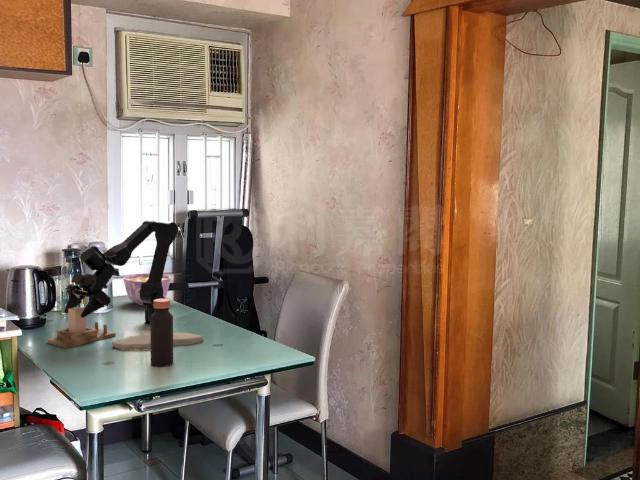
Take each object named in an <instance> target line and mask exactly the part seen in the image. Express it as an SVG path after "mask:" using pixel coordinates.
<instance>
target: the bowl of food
mask: <svg viewBox="0 0 640 480" xmlns="http://www.w3.org/2000/svg"><path fill="white" fill-rule="evenodd" d="M149 274H150V273H136V274H130V275H126V276H124V277H123V283H124V286H125V292H126V295H127V297H128V298H129V300H130V301H132V302H134V303H136V304H137V305H138V306H143V303H142V301H141V299H140V293H139V291H140V289H141V284H142V283H146V281H147V280H148V278H149ZM171 280H172V276H170V275H168V274H165V273H163V277H162V281H161V283H162V286H163V297H164V298H165V299H166V297H167V295H168V292H169V288H170V287H169V286H170V284H171Z"/></svg>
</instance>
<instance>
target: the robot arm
mask: <svg viewBox="0 0 640 480" xmlns="http://www.w3.org/2000/svg"><path fill="white" fill-rule="evenodd" d="M152 233H154V237H155V241H156V245H155V249H154V253H153V257H152V258H153V259H152V262H151V267H150V271H149V273H148V274H149V278H148V280H147V281H146V283H142V284H141V289H140V291H139V293H140V299H141V301H142V303H143V305H142V306H144V307H145V311H144V324H146V325H150V317H151V315H152V314H153V313H154V312H155V309H154V307H153V300H155V299H166V297H165V298H164V297H163V286H162V283H161V281H162V277H163V274H164V271H165V267H166V264H167V258H168V256H169V255H168V254H169V250H170V246H171V245H172V244H173V242H174V241H175V240H176V238H177V236H178V233H179V226H178V225H177V223H176V222H174V221H166V220H165V221H164V220H160V221H158V222H157V221H155V220H144V221H143V222H142V223H141V225H139V226H138V228H136V229H135V230H134V231H133V232H132V233H131V234H130V235H129V236H128V237H127V238H126V239H125V240H124V241H121V243H118V244H116V245H113V246H111V247H110V248H108V249H107V250H106V251H105V252H103V253H102V252H101V251H100V249H99V248H98V247H97V245H96V246H94V245H92V246H91V247H90V248H87V249H86V250H85V251H83V252H82V253H81V255H80V256H79V257H80V261H81V262H82V263H83V264H85V265H86V267H88V268H89V269H90V270H91V271H94V273H93V274H91V273H86V274H81V273H80V274H79V273H76V272H75V273H73V276H72V278H71V281H70V282H71V283H73V284H68V285H67V286H66V288H65V291H66V293H67V295H68V299H67V303H66V305H65V309H64V312H63V313H65V314H67V315H68V309H69V308H75V307H78V305H79V304H82V300H83V299H84V298H85V297H89V302H88V304H87V305H86V307H85V309H84V310H83V312H82V314H81V317H82V318H83V317H85V316H86V317H87V316H89V315H91V314H92V313H94V312H96V311H98V310H100V309H102V308H105V307H108V306H109V305H110V304H111V300H112V298H111V297H110V296H109V295H108V294H107V293H106V292H105V291H104V290H106V289H108V287H109V286H108V285H107V284H108V283H109V282H110V280H111V279H112V278H113V276H114V277H120V270H119V268H117V267H114V266H118V267H122V266H125V265H126V264H127V263H128V262H129V260H130V259H131V257H132V253H133V252H134V251H135V250H136V248H138V247H139V246H140V245H141V244H142V243H143V242H144V241H145V240H146V239H147V238H149V237H150V236H151V235H152Z"/></svg>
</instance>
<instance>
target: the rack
mask: <svg viewBox="0 0 640 480" xmlns="http://www.w3.org/2000/svg"><path fill="white" fill-rule="evenodd" d="M116 336H117V334H116V332H114V331H111V330H108V325H107V324H105V323H104V324H103V327H102V328H99V321H95V322H94V328H93V327H88V326H86V331H84V332H80V333H75V334H73V333H70V332H69V327H66V328H62V329H58V330H56V337H54V338H53V337H52V338H47V344H50V345H54V346H56V347H57V346H58V347H60V348H64V349H68V348H71V347H76V346H80V345H84V344H88V343H93V342H97V341H101V340H105V339H109V338H113V337H116Z"/></svg>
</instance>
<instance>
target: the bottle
mask: <svg viewBox="0 0 640 480" xmlns="http://www.w3.org/2000/svg"><path fill="white" fill-rule="evenodd" d="M153 307H154V309H155V312H154V313H153V314H152V315H151V317H150V324H149V326H150V333H149V334H151V349H150V364H151V366H153V367H156V366H157V368H158V367H159V368H161V367H163V368H164V367H168V366H171V365H172V364H174V346H173V332H174V315H173V314H172V313H171V312H170V309H171V299H169V298H165V299H155V300H153Z"/></svg>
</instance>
